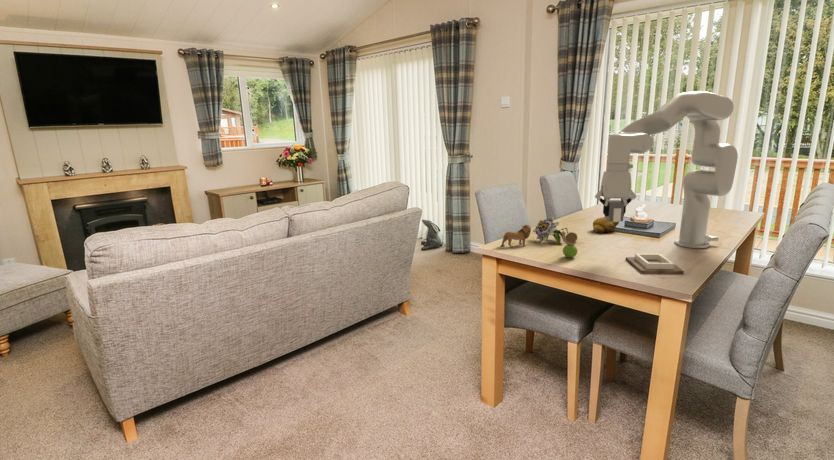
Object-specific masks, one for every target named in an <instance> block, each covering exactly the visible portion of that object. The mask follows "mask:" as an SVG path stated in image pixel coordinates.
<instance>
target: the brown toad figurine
mask: <svg viewBox="0 0 834 460" xmlns="http://www.w3.org/2000/svg"><path fill="white" fill-rule="evenodd" d="M604 217H605V216H604ZM604 217H601V216H600V217H598V218H596V219H594V220H593V222H592V229H593V231H594V232H595V233H600V234H601V233H603V234H604V233H611V232H614V231H615V230H616V228H617V226H618V225H619V223H620V222H613V221H608V220H607V219H605V218H604Z"/></svg>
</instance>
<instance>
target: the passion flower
mask: <svg viewBox="0 0 834 460" xmlns="http://www.w3.org/2000/svg"><path fill="white" fill-rule="evenodd" d="M554 219H555V217H554V216H551V217H550V218H546V219H541V220H539V221H538V223H537V224H536V226H535V229H533V230H532V233H535V235H537V236H536V240H538V243H541V242H543V241H544V242H546V241H548V239H549V236H553V238H554V239H555V241H556V243H557V245H561V242H562V241H563V236H562V231H563V230H562V228H561V229H558V226H559V225H560V222H559V221H556V222H554ZM563 229H564V230H566V234H568V233H569V230H568V228H567V227H565V228H563ZM563 243H565V242H564V241H563Z"/></svg>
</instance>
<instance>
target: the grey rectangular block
mask: <svg viewBox="0 0 834 460" xmlns="http://www.w3.org/2000/svg"><path fill="white" fill-rule="evenodd" d="M608 206H609V212H608V216H605V215H604V218H605V219H607V220H608V221H613V222H619V223H621V222H624V216H625V214H624V202H622V201H621V199H610V200H609V203H608ZM623 215H624V216H623Z"/></svg>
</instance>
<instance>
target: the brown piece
mask: <svg viewBox="0 0 834 460" xmlns="http://www.w3.org/2000/svg"><path fill="white" fill-rule="evenodd" d="M625 260H626V262H628V263H629V264H630V265H631V266H632V267H634V268H635V270H637V271H638V272H639V273H640V274H651V275H652V274H657V275H659V274H662V275H663V274H666V275H667V274H668V275H669V274H670V275H675V274H676V275H684V273H685V271H684V270H683V269H682V268H680V267H679V266H678V265H676V264H675V263H674V262H673V261H671V260H670V259H668V258H667V257H665V256H664V255H662V254H661V253H634V256H626V257H625Z"/></svg>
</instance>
